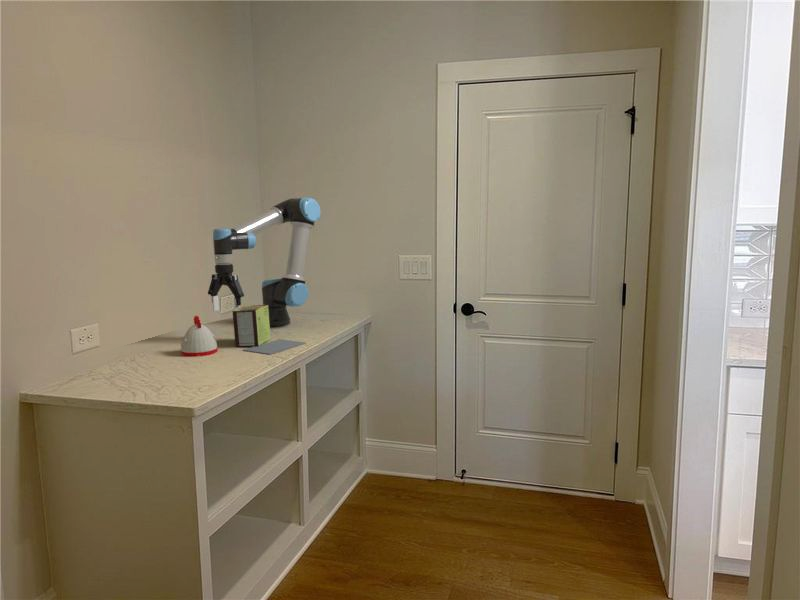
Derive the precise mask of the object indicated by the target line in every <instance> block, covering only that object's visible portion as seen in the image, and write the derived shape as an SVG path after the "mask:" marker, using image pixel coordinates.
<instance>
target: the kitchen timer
mask: <svg viewBox="0 0 800 600" xmlns="http://www.w3.org/2000/svg"><path fill="white" fill-rule="evenodd" d="M193 323H194V324H193V325H192V326H190V327H189V328H188V329H187V330H186V332H185V334H184V336H181V342H180V355H181V356H182V357H190V358H191V357H192V358H195V357H206V356H209V355H210V356H211V355H213V354H214V355H215V354H217V353H218V344H217V338H216V335H215V334H214V333H213V332H212V331H211V330H210V329H209V328H208V327H207V326H206V325H204V324H202V323H201V320H200V316H198V315H194V316H193Z"/></svg>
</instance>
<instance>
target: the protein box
mask: <svg viewBox="0 0 800 600" xmlns="http://www.w3.org/2000/svg"><path fill="white" fill-rule="evenodd" d="M231 312H232V321H233V332H234V342H235V343H234V345H235V347H236V348H237V347H254V346H259V345H261V344H264V343H267V342H268V341H269V340H271V326H270V324H269V311H268V305H263V304H253V305H252V304H248V305H247V304H246V305H243V306H240V308H238V309H236V310H232V311H231Z"/></svg>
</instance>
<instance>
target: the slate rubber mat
mask: <svg viewBox="0 0 800 600" xmlns="http://www.w3.org/2000/svg"><path fill="white" fill-rule="evenodd" d="M305 344H307V342H305V341H297V340H288V339H281V338H279V339H276V340H271V341H269V342H268V341H267V342H264V343H263V344H261V345H259V346H250V347H247V348H244V349H242V351H244V352H248V351H249V353H255V352H256V354H261V353H263V354H262V355H268V354H270V355H271V354H272V355H274V354H273V353H275V354H277V352H278V353H280V351H281V352H283V351H287V350H290V349H293V348H297V347H299V346H302V345H305ZM270 355H269V356H270ZM272 355H271V356H272Z"/></svg>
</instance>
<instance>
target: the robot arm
mask: <svg viewBox="0 0 800 600" xmlns="http://www.w3.org/2000/svg"><path fill="white" fill-rule="evenodd" d="M321 213H322V212H321V207H320V204H319V203H318V201H317V200H316V199H314V198H310V197H298V198H297V197H296V198H294V197H293V198H289V199H286V200H283V201H282V202H279V203H277V204H274V205H273V206H271V207H270V208H269V210H267V211H265V212H264V213H261V214H260V215H257V216H255V217H253V218H251V219H249V220H247V221H245V222H242V223H240V224H239V225H237V226H235V227H233V228H215V229H213V231H212V232H213V234H212V240H213V251H214V252H213V253H214V256H213V257H214V263H215V265H214V270H215V273H214V274H211V280H210V282H209V283H210V284H209V287H208V290H207V294H208V295H209V296H211V303H212V311H213V312H216V311H219V310H220V304H219V303H220V302H219V296H218V293H219V291H220V290H221V289H222V286H226V287H228V288H229V290H230V291H231V293H232V295H233V296H234V297H233V307H234V308H233V309H234V310H236V309H238V308H241V305H242V300H241V298H242V297H245V293H244V291H243V289H242V286H241V283H240V280H239V277H238V274H235V275H233V272H234V265H233V264H232V263H234V262H233V261H234V260H233V251H234V250H249V249H254V248H255V247H256V245H257V237H256V235H258V234H260V233H262V232H264V231H266V230H268V229H270V228H272V227H274V226H276V225H278V226H279V225H282V224H285V223H289V224H290V225H291V226H292V230H291V235H290V236H291V237H290V243H289V248H288V249H289V250H288V256H287V263H286V269H285V274H284V275H282V277H281V278H275V279H266V280H263V281H262V283H261V295H262V296H261V297H262V305H268V311H269V324H270V327H281V326H285V325H289V324H291V317H290V315H289V312H288V310H287V307H293V308H294V307H300V306H302V305H303V304H305V302H306V301H307V300H308V297H309V289H308V286H307V285H306V279H305V278H304V273H305V267H306V259H307V253H308V245H309V238H310V233H311V230H312V229H313V228H314V227H315V223H316V222H317V221H318V220H319V219H320V217H321Z"/></svg>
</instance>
